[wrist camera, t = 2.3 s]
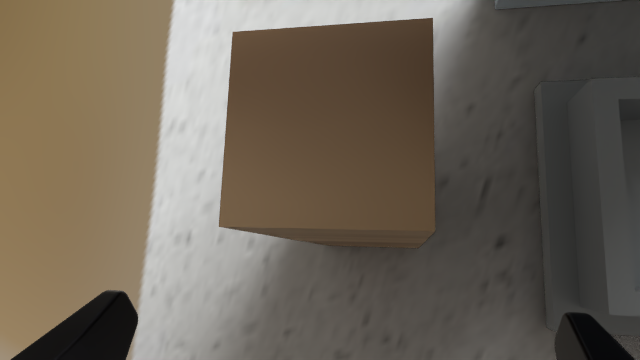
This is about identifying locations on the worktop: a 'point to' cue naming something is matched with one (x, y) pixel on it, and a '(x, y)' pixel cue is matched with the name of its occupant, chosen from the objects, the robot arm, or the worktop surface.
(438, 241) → the worktop surface
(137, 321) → the robot arm
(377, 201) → the peg
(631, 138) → the socket
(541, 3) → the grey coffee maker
